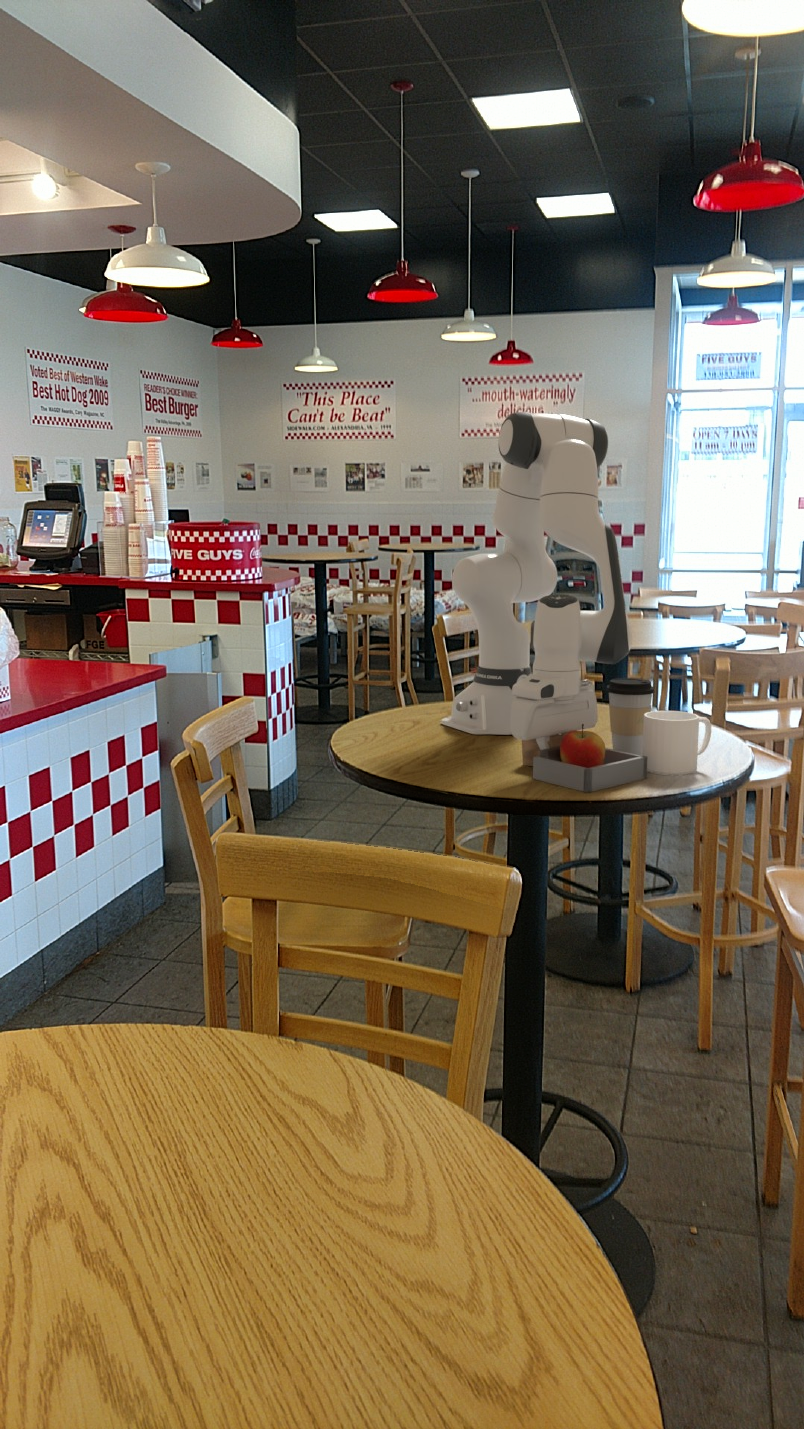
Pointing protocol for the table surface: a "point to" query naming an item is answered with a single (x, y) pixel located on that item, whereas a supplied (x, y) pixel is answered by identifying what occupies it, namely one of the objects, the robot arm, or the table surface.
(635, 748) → the coffee cup
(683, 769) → the mug
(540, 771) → the tray
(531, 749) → the tan grey t-shaped block
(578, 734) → the apple
